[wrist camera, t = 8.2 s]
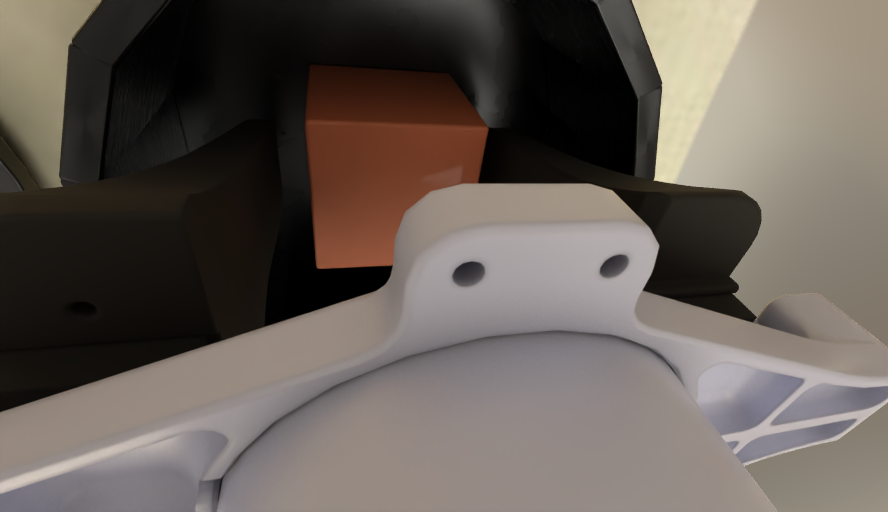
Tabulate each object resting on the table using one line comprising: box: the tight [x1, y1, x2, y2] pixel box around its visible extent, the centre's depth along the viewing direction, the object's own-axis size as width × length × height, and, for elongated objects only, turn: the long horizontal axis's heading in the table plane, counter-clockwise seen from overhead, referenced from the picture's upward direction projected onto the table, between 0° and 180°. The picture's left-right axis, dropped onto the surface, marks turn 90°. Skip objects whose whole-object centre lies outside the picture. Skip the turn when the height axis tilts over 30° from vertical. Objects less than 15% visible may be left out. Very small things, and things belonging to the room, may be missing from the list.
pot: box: [59, 0, 662, 327], centre depth 12 cm, size 12×12×5 cm
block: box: [305, 65, 489, 269], centre depth 12 cm, size 4×4×4 cm
